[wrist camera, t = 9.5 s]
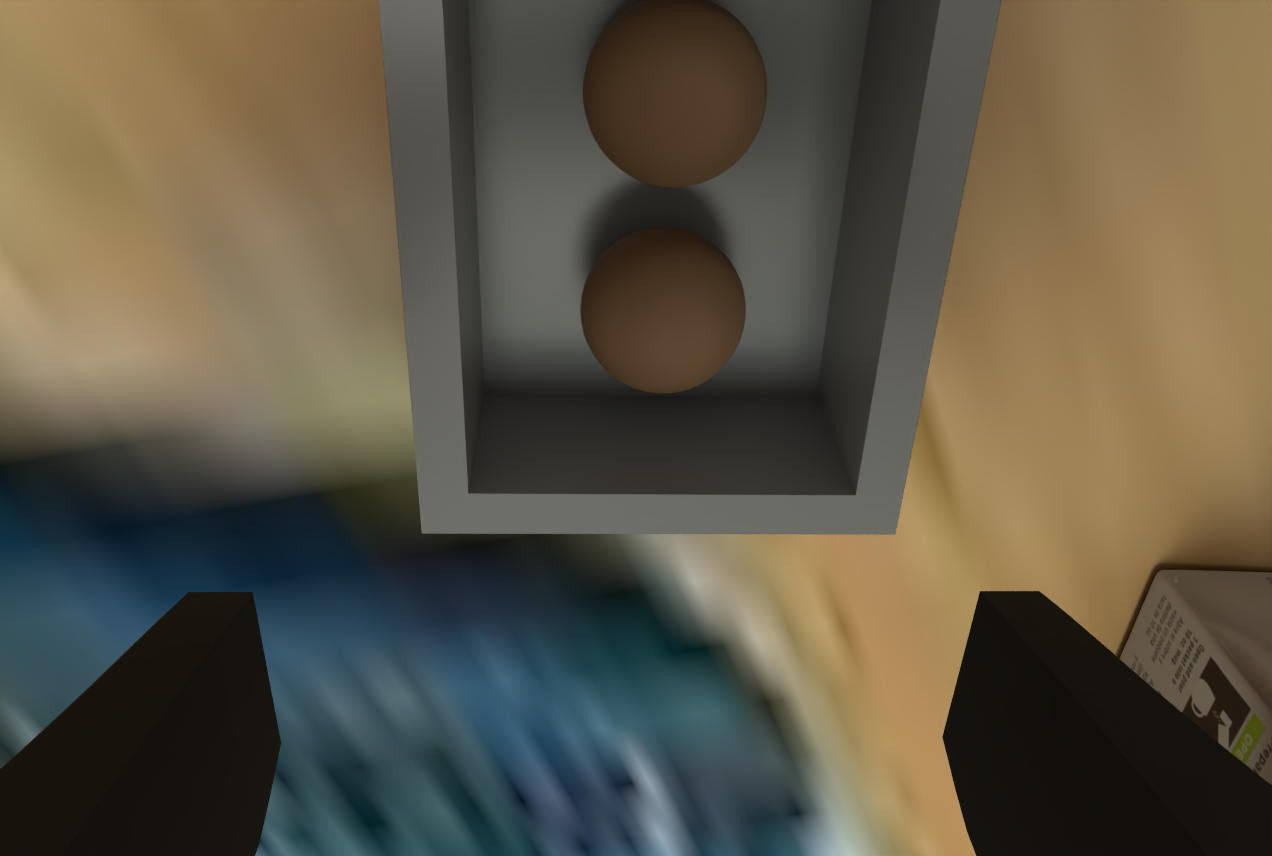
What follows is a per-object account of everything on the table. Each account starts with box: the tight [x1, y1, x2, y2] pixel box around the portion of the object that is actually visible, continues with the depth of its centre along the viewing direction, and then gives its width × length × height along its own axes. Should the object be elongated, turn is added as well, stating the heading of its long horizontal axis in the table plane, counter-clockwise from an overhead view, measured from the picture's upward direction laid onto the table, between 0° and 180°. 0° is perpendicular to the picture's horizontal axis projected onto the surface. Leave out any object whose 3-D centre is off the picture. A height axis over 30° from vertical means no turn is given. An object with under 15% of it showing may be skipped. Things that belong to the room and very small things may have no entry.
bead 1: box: [583, 0, 767, 188], centre depth 16 cm, size 3×3×3 cm
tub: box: [379, 0, 1001, 534], centre depth 17 cm, size 8×10×4 cm
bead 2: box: [580, 227, 746, 393], centre depth 18 cm, size 3×3×3 cm
